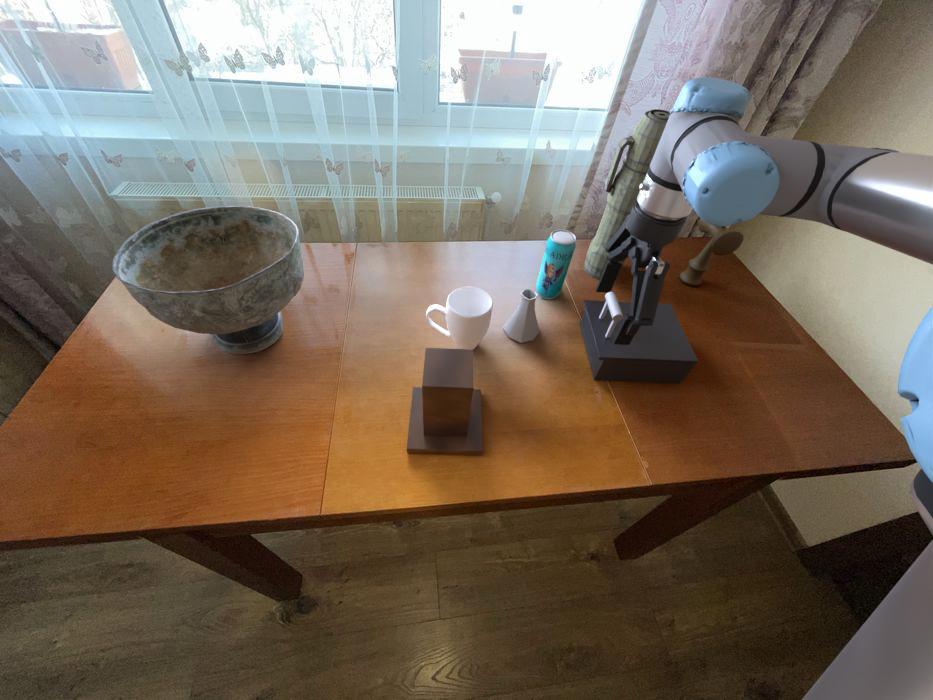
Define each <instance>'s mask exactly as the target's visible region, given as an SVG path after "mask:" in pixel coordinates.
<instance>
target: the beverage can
mask: <svg viewBox="0 0 933 700" xmlns="http://www.w3.org/2000/svg"><path fill="white" fill-rule="evenodd" d="M576 242H577V237H576V235H575V234H574V233H572V232H571V231H570V230H566V229H555V230H553V231H552V232H551V233H550V236H549V237H548V238H547V241H546V245H545V249H544V253H543V256H542V261H541V264H540V268H539V273H538V276H537V280H536V284H535V288H536V292H537V294H538V297H540V298H541V299H543V300H547V301H548V300H554V299H555V298H557V297H558V296H559V295H560V294H561V292H562V289H563V286H564V283H565V280H566V278H567V274H568V271H569V268H570V265H571V262H572V260H573V259H572V258H573V255H574V252H575V249H576V246H577V245H576Z"/></svg>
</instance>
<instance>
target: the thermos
mask: <svg viewBox="0 0 933 700" xmlns="http://www.w3.org/2000/svg"><path fill="white" fill-rule="evenodd" d="M669 116H670V111H669V110H665V109H660V108H659V109H658V108H657V109H656V108H654V109H650V110H647V111H645V112H644V113H643V115H642V116H641V118H640V119H639V121H638V122H637V124H636V125H635V127H634V129H633V132H632V135H628V137H624V138H623V139H622V140H621V141H620V142H619V143H618V144H617V146H616V149H615V152H614V155H613V159H612V161H611V164H610V167H609V170H608V173H607V176H606V179H605V183H604V187H603V190H604V191H605V192H606V193H607V196H606V202H607V203H606V205H605V209H604V211H603V214H602V217H601V220H600V222H599V225H598V228H597V231H596V234H595V236H594V237H593V238H592V240H591V241H590V244H589V246H588V250H587V252H586V255H585V261H584V263H583V270H584V272H585V273H587V274H588V276H590V277H592V278H593V279H597V280H598V281H599V280H600V278H601V275H602V273H603V270H604V268H605V265H606V263H607V255H608V254H609V253H608V252H606V250H605V248H606V246H607V244H608V243H609V242H610V241H611V239H612V238H613V237H614V235H615V234H616V233H617V232H618V230H619V229H620V228H621V227H622V225H623V223H624V221H625V219H626V217H627V215H630V212H631V210H632V208H633V205H634V203H635V202H637V196H638V194H639V191H640V190H639V186H640V184H641V183H643V182H644V179H645V177H646V174H647V172H648V169H649V167H650V164H651V161H652V159H653V156H654V154H655V151H656V149H657V146H658V144H659V141H660V139H661V136H662V134H663V131H664V129H665V126H666V124H667V121H668V119H669ZM626 148H627V149H626ZM625 149H626V152H625V158H624V159H623V160H622V163H621V166H620V167H619V165H620V162H621V159H622V156H623V153H624V151H625ZM618 167H619V169H618ZM626 260H627V258H626V259H625V260H624V261H625V262H626ZM624 261H618V263H621V264H622V267H621V269H623V266H624V265H625V262H624Z"/></svg>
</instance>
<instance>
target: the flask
mask: <svg viewBox="0 0 933 700" xmlns="http://www.w3.org/2000/svg"><path fill="white" fill-rule="evenodd" d="M519 295H520V301H519V303H518V305H517V307H516V308H515V310H514V312H513V313H512V314H511V315H510V317H509V318H508V320H506V322H505V324H503V326H502V329H503V330H504V332H505V334H506V336H507V337H508V338H510V339H512V340H514V341H516V342H518V343H521V344H522V343H526V342H530V341H534V340H535V338H536V337H537V335H538V334H539V332H540V328H539V324H538V320H537V313H536V300H537V299H538V297H539V295H538V293H537V290H536V289H532V288H530V287H529V288H524V289H523V290H521V292H520V294H519Z"/></svg>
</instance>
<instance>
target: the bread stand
mask: <svg viewBox="0 0 933 700" xmlns="http://www.w3.org/2000/svg"><path fill="white" fill-rule="evenodd" d="M411 393H412V395H411V404H410V414H409V423H408V432H407V439H406V453H407V454H419V455H421V454H422V455H425V454H426V455H458V456H461V455H462V456H483V452H484V451H483V450H484V449H483V416H482V415H483V414H482V413H483V412H482V389H481V388H475V387H474V349H473V350H470V349H458V348H447V347H446V348H444V347H425V350H424V361H423V371H422V382H421V386H412V392H411Z"/></svg>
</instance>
